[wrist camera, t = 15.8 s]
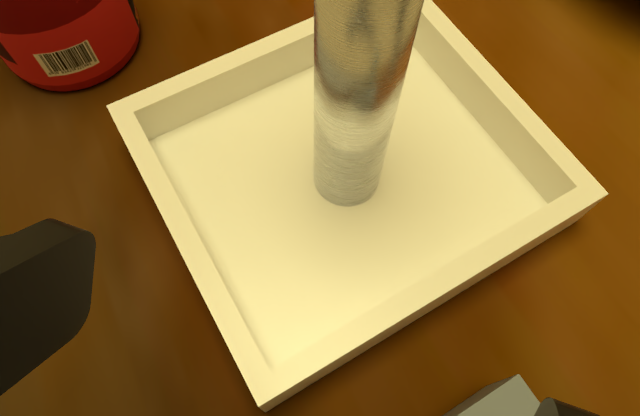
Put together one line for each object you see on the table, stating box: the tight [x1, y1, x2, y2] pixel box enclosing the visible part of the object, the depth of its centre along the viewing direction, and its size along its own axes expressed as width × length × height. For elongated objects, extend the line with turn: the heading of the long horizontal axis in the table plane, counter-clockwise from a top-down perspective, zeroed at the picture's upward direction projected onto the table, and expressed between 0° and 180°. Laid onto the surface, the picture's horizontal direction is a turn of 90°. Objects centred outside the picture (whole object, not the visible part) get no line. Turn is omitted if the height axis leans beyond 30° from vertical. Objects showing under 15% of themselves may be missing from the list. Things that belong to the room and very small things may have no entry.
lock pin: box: [313, 0, 424, 207], centre depth 20 cm, size 4×4×15 cm
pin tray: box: [107, 0, 608, 413], centre depth 26 cm, size 18×16×3 cm
